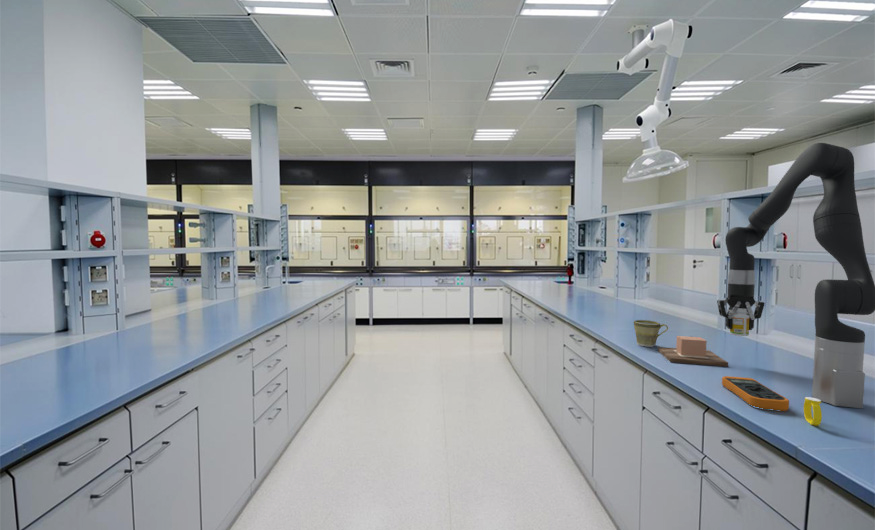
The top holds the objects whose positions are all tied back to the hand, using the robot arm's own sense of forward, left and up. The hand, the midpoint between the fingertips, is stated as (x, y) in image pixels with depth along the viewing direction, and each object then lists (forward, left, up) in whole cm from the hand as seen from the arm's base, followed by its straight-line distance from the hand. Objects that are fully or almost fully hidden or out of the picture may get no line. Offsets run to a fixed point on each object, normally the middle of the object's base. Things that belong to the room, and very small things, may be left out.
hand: (739, 329), depth 137 cm
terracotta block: (+1, +15, -11) cm, 18 cm away
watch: (-51, +6, -13) cm, 52 cm away
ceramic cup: (+17, +25, -13) cm, 33 cm away
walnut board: (+1, +15, -12) cm, 19 cm away
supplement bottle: (0, 0, -2) cm, 2 cm away
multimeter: (-37, +11, -13) cm, 40 cm away
